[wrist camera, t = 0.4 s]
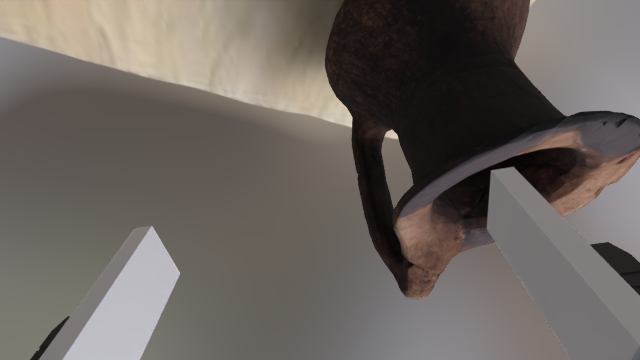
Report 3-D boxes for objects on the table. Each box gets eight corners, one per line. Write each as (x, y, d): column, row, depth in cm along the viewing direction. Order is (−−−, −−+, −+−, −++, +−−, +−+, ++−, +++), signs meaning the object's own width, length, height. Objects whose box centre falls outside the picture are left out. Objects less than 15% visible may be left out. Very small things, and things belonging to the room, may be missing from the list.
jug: (389, -171, 26) (651, 88, 9) (521, -45, 35) (774, 200, 19) (274, 47, 40) (297, 305, 24) (389, 97, 49) (465, 308, 33)
